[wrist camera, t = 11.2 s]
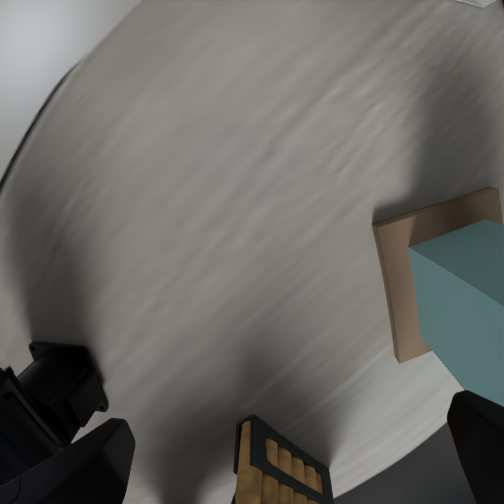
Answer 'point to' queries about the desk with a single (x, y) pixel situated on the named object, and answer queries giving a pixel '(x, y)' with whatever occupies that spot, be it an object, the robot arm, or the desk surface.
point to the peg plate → (399, 265)
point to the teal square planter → (464, 304)
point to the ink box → (477, 2)
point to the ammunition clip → (276, 469)
